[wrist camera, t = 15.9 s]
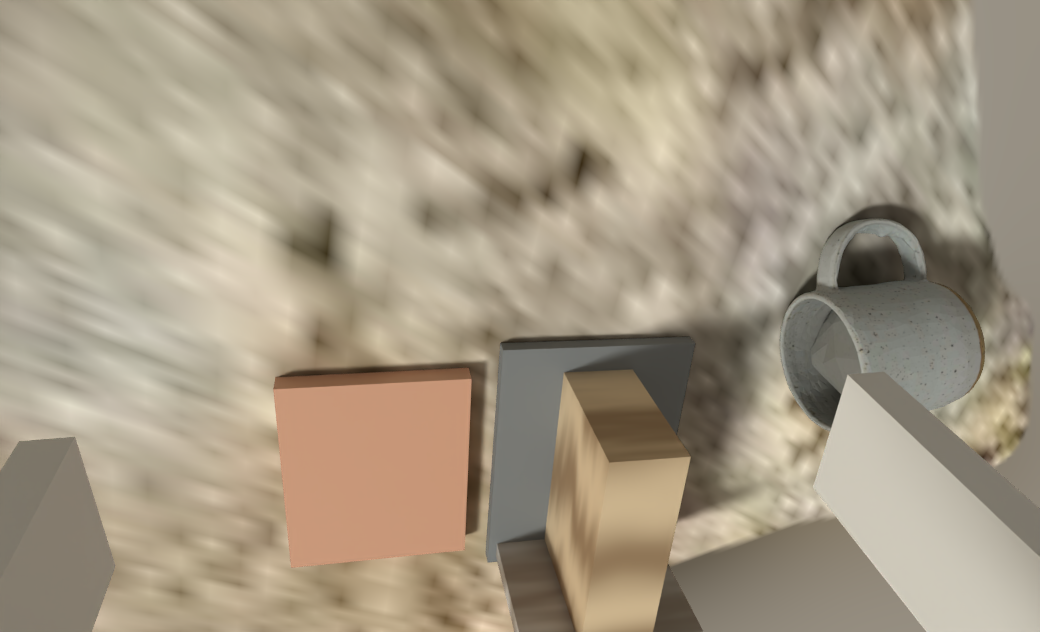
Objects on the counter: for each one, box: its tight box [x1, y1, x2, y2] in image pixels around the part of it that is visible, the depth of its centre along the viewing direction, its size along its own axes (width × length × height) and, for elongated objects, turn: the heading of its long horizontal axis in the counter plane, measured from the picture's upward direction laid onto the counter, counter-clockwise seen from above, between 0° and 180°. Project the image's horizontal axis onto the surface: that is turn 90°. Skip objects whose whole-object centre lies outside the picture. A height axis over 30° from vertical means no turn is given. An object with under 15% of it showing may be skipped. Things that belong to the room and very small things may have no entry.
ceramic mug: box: [780, 218, 985, 431], centre depth 40 cm, size 11×8×8 cm
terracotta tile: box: [274, 368, 472, 568], centre depth 41 cm, size 2×10×12 cm
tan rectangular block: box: [496, 369, 703, 632], centre depth 40 cm, size 13×10×8 cm
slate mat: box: [486, 337, 695, 562], centre depth 44 cm, size 15×11×1 cm
